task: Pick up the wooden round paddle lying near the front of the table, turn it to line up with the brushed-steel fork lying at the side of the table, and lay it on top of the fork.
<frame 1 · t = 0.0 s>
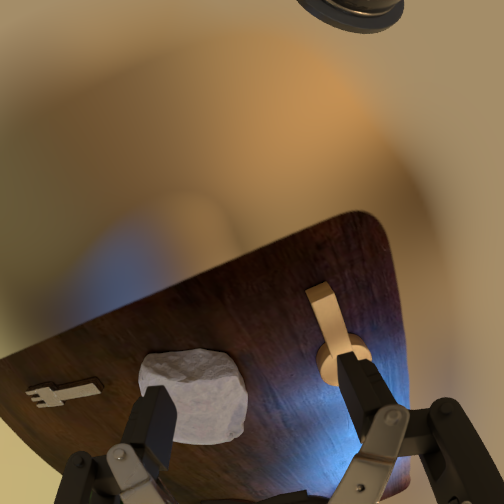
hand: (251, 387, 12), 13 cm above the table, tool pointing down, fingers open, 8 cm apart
wooden round paddle: (331, 329, 26), on the table
fork: (62, 389, 28), on the table
stone block: (200, 390, 28), on the table
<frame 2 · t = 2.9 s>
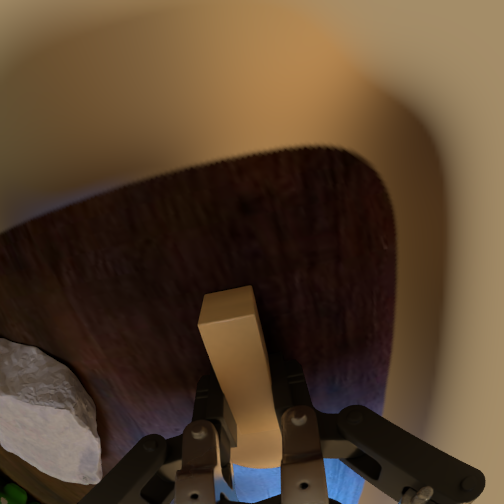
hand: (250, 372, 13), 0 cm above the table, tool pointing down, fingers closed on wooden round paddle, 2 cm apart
wooden round paddle: (252, 378, 13), on the table, touching gripper
piggy bank: (18, 489, 23), on the table
stone block: (50, 406, 15), on the table
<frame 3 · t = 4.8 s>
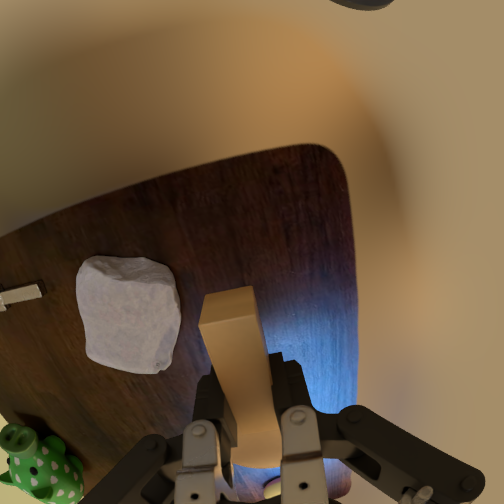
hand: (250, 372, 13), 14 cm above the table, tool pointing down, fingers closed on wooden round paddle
wooden round paddle: (253, 378, 13), point 14 cm above the table, touching gripper
fork: (8, 294, 27), on the table
piggy bank: (55, 444, 37), on the table
donut: (288, 482, 40), on the table
stone block: (137, 310, 28), on the table
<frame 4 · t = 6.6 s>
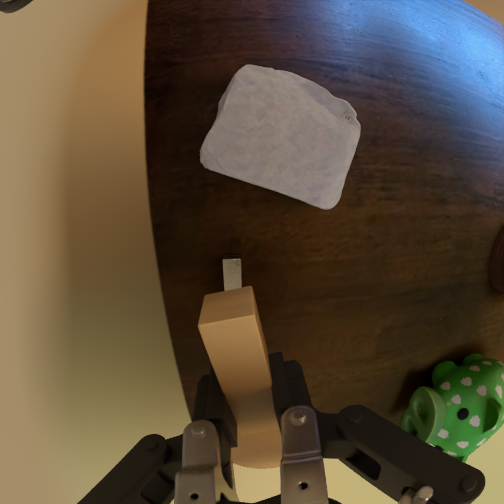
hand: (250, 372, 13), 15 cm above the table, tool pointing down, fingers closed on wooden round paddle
wooden round paddle: (253, 378, 13), point 15 cm above the table, touching gripper
fork: (235, 325, 29), on the table
piggy bank: (443, 377, 35), on the table
stone block: (282, 132, 24), on the table
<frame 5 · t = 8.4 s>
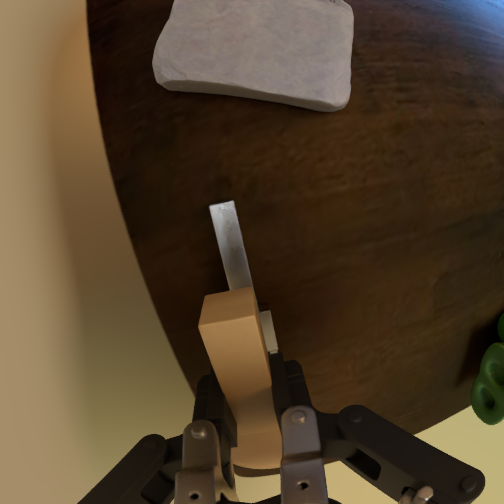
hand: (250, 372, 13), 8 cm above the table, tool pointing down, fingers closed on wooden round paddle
wooden round paddle: (253, 378, 13), point 8 cm above the table, touching gripper
fork: (246, 301, 21), on the table
stone block: (258, 38, 16), on the table
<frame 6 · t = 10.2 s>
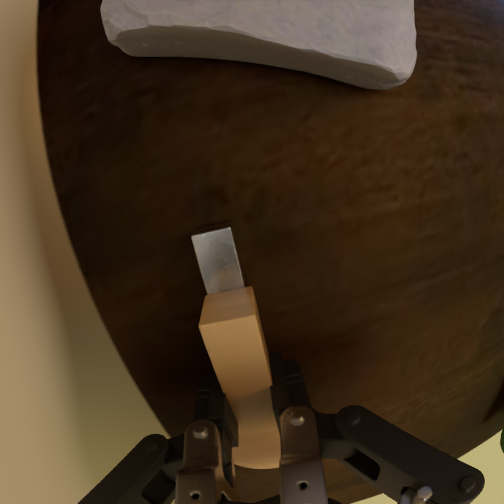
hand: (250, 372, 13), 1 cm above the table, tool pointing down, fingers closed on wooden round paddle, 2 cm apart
wooden round paddle: (253, 378, 13), point 1 cm above the table, touching fork, gripper
fork: (249, 363, 15), on the table, touching gripper, wooden round paddle
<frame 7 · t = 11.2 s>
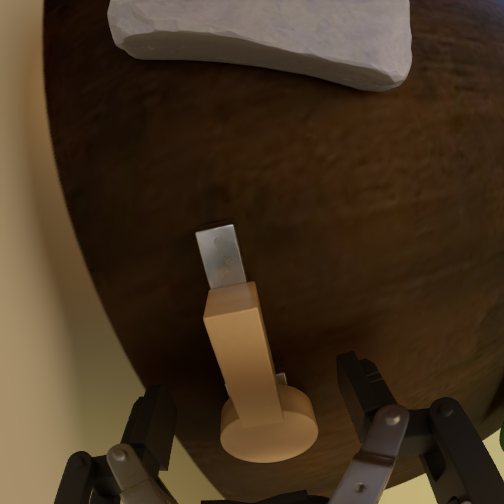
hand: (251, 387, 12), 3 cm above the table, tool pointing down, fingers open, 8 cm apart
wooden round paddle: (254, 372, 14), point 1 cm above the table, touching fork
fork: (251, 358, 15), on the table, touching wooden round paddle
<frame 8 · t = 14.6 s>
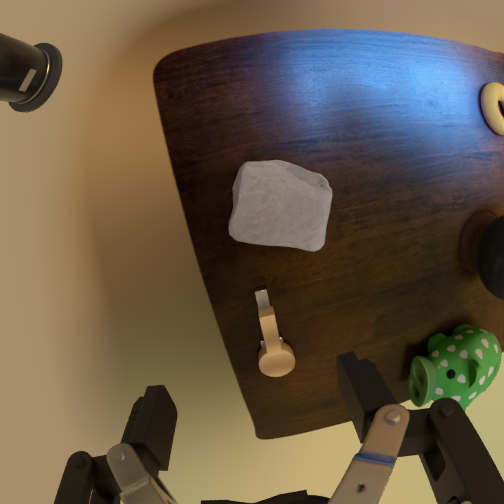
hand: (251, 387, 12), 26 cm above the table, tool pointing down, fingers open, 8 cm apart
wooden round paddle: (271, 336, 41), point 1 cm above the table, touching fork
fork: (269, 332, 42), on the table, touching wooden round paddle
piggy bank: (440, 346, 45), on the table
black ball on stand: (479, 241, 39), on the table
donut: (494, 109, 32), on the table
stone block: (279, 200, 36), on the table
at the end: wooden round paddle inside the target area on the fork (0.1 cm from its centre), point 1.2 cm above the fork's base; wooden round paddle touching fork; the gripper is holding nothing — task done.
